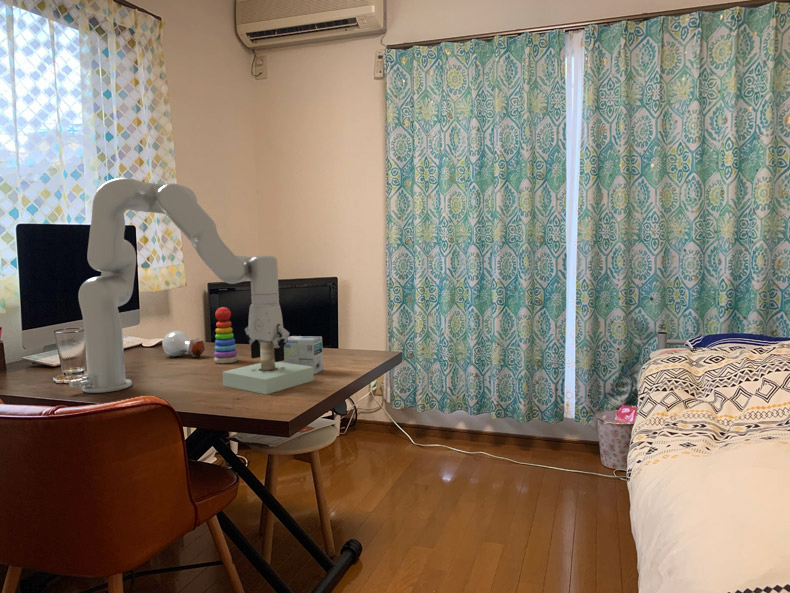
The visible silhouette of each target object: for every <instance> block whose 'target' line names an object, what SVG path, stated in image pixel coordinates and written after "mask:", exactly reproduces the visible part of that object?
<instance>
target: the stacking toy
mask: <svg viewBox="0 0 790 593" xmlns="http://www.w3.org/2000/svg"><path fill="white" fill-rule="evenodd" d="M214 315H215V319H216V320H217V322H216V324H215V327H217V328H215V333H216V334H215V336H214V337H215V340H214V344H215V346H214V350H215V351H214V353H213V355H214V358H213V362H214V363H215V364H220V363H221V364H224V365H226V364H232V363H236V362H237V361H238V360H239V356H238V355H237V354H238V351H237V350H236V349H237V345H236V344H235V343H236V340H235V338H234V333H233V327H231V326H232V322H231V320H230V318H231V316H232V312H231V310H230V309H229V308H228V307H224V306H222V307H218V308H217V309H216V311H215V314H214ZM225 363H226V364H225ZM221 364H220V365H221Z"/></svg>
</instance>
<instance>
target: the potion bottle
mask: <svg viewBox="0 0 790 593" xmlns="http://www.w3.org/2000/svg"><path fill="white" fill-rule="evenodd" d="M161 345H162V350H163V351H164V353H165V354H166V355H169V356H170V357H172V358H175V356H180V357H182V356H183V355H185V354H187V353H188V354H189V355H190V356H192V357H193V358H195V357H197V358H198V357H199V358H200V356H201V355H202V354H203V353H204V351H206V349H205V344H204V340H200V338H194V339H191V340H190V338H189V336H188V334H187V333H186V332H183V331H181V330H171V331H169V333H166V334H165V336H164V337H163V339H162V344H161Z"/></svg>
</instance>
